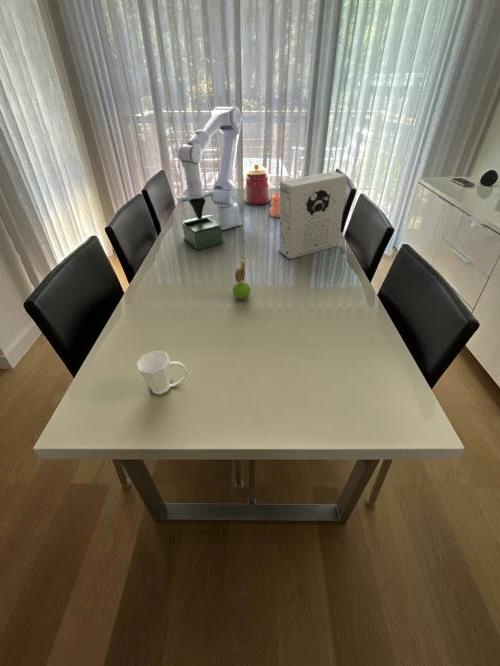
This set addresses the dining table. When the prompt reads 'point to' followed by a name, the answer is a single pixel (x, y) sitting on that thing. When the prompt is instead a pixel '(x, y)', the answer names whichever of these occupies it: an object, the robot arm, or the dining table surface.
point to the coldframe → (203, 233)
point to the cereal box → (311, 213)
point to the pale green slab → (197, 218)
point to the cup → (158, 371)
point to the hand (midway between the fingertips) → (199, 217)
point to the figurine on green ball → (241, 283)
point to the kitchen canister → (257, 185)
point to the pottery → (275, 205)
